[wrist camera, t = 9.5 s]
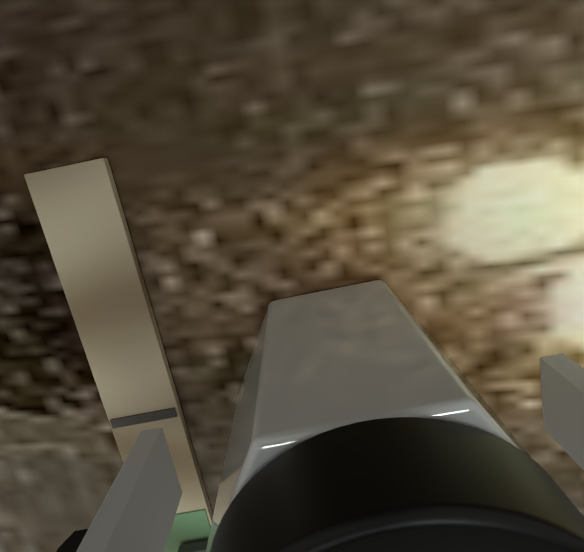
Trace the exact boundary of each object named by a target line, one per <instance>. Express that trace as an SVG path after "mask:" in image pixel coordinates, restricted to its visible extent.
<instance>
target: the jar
mask: <svg viewBox="0 0 584 552" xmlns="http://www.w3.org/2000/svg"><path fill="white" fill-rule="evenodd" d="M206 552H584V516H583V515H582V514H581V513H580V512H579V510H578V509H577V508H576V507H575V505H574V504H573V503H572V502H571V501H570V499H569V498H568V497H567V496H566V495H565V493H564V492H563V491H562V490H561V489H560V487H559V486H558V485H557V484H556V482H555V481H554V480H553V479H552V478H551V476H550V475H549V474H548V473H547V472H546V471H545V470H544V469H543V468H542V467H541V466H540V465H539V464H538V463H537V462H535V461H534V460H533V459H532V458H531V457H530V455H529V454H528V453H527V452H526V450H525V449H524V448H523V447H522V446H521V444H520V443H519V442H518V441H517V439H516V438H515V437H514V436H513V435H512V433H511V432H510V431H509V430H508V428H507V427H506V426H505V425H504V423H503V422H502V421H501V420H500V419H499V417H498V416H497V415H496V414H495V412H494V411H493V410H492V409H491V407H490V406H489V405H488V404H487V403H486V401H485V400H484V399H483V398H482V396H481V395H480V394H479V393H478V392H477V390H476V389H475V388H474V387H473V385H472V384H471V383H470V382H469V380H468V379H467V378H466V377H465V376H464V374H463V373H462V372H461V371H460V369H459V368H458V367H457V366H456V365H455V363H454V362H453V361H452V360H451V358H450V357H449V356H448V355H447V354H446V352H445V351H444V350H443V349H442V348H441V347H440V345H439V344H438V343H437V342H436V341H435V340H434V339H433V337H432V336H431V335H430V334H429V333H428V332H427V330H426V329H425V328H424V327H423V326H422V325H421V323H420V322H419V321H418V320H417V319H416V318H415V317H414V315H413V314H412V313H411V312H410V311H409V310H408V308H407V307H406V306H405V305H404V304H403V303H402V302H401V300H400V299H399V298H398V297H397V296H396V295H395V293H394V292H393V291H392V290H391V289H390V288H389V286H388V285H387V284H386V283H385V282H384V281H382V280H375V281H370V282H365V283H360V284H355V285H350V286H345V287H339V288H334V289H329V290H324V291H319V292H314V293H309V294H304V295H299V296H294V297H289V298H284V299H279V300H274V301H272V302H270V304H269V305H268V308H267V311H266V314H265V317H264V320H263V323H262V326H261V329H260V332H259V335H258V338H257V341H256V343H255V346H254V349H253V352H252V355H251V358H250V361H249V364H248V367H247V370H246V373H245V376H244V379H243V382H242V385H241V388H240V391H239V394H238V398H237V403H236V408H235V412H234V417H233V422H232V427H231V432H230V437H229V441H228V446H227V451H226V456H225V461H224V466H223V470H222V475H221V480H220V485H219V490H218V495H217V499H216V504H215V509H214V514H213V519H212V524H211V528H210V533H209V538H208V543H207V548H206Z"/></svg>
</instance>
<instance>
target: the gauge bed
mask: <svg viewBox="0 0 584 552" xmlns="http://www.w3.org/2000/svg"><path fill="white" fill-rule="evenodd" d="M24 177H25V180H26V182H27V185H28V188H29V191H30V194H31V197H32V200H33V203H34V206H35V209H36V211H37V214H38V217H39V220H40V223H41V226H42V229H43V232H44V235H45V237H46V240H47V243H48V246H49V249H50V252H51V255H52V258H53V261H54V264H55V266H56V269H57V272H58V275H59V278H60V281H61V284H62V287H63V290H64V293H65V295H66V298H67V301H68V304H69V307H70V310H71V313H72V316H73V319H74V321H75V324H76V327H77V330H78V333H79V336H80V339H81V342H82V345H83V348H84V350H85V353H86V356H87V359H88V362H89V365H90V368H91V371H92V374H93V377H94V379H95V382H96V385H97V388H98V391H99V394H100V397H101V400H102V403H103V406H104V408H105V411H106V414H107V417H108V420H109V423H110V426H111V429H112V432H113V434H114V437H115V440H116V443H117V446H118V449H119V452H120V455H121V458H122V461H123V463H124V461H125V460H126V458H127V456H128V454H129V452H130V450H131V448H132V446H133V445H134V443H135V441H136V439H137V437H138V435H139V433H140V432H141V431H143V430H149V429H154V428H160V427H162V428H163V431H164V435H165V438H166V441H167V444H168V448H169V451H170V454H171V457H172V460H173V464H174V467H175V470H176V473H177V476H178V480H179V483H180V486H181V489H182V492H183V493H182V496H181V499H180V502H179V505H178V509H177V512H176V515H175V518H174V521H173V525H172V528H171V531H170V534H169V537H168V541H167V544H166V547H165V550H164V552H178V549H179V545H182V544H188V543H194V542H200V541H206V540H208V538H209V533H210V528H211V524H212V519H213V513H212V510H211V507H210V503H209V500H208V497H207V493H206V490H205V486H204V483H203V480H202V476H201V473H200V469H199V466H198V463H197V459H196V456H195V453H194V449H193V446H192V442H191V439H190V436H189V432H188V429H187V425H186V422H185V419H184V415H183V412H182V409H181V405H180V402H179V398H178V395H177V392H176V388H175V385H174V381H173V378H172V375H171V371H170V368H169V365H168V361H167V358H166V354H165V351H164V348H163V344H162V341H161V337H160V334H159V331H158V327H157V324H156V321H155V317H154V314H153V310H152V307H151V304H150V300H149V297H148V293H147V290H146V287H145V283H144V280H143V277H142V273H141V270H140V266H139V263H138V260H137V256H136V253H135V249H134V246H133V243H132V239H131V236H130V233H129V229H128V226H127V222H126V219H125V216H124V212H123V209H122V205H121V202H120V199H119V195H118V192H117V189H116V185H115V182H114V178H113V175H112V172H111V168H110V165H109V161H108V158H101V159H96V160H91V161H86V162H82V163H77V164H72V165H67V166H63V167H58V168H53V169H48V170H43V171H39V172H34V173H29V174H24Z"/></svg>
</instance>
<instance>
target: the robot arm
mask: <svg viewBox="0 0 584 552" xmlns="http://www.w3.org/2000/svg"><path fill="white" fill-rule="evenodd" d="M540 373H541V389H542V406H543V422H544V429H545V430H546V431H547V432H548V433H549V434H550V435H551V436H552V437H553V439H554V440H555V441H556V442H557V443H558V444H559V445H560V446H561V447H562V448H563V449H564V450H565V451H566V452H567V453H568V454H569V455H570V456H571V458H572V459H573V460H574V461H575V462H576V463H577V464H578V465H579V466H580V467H581V468H582V469H583V470H584V368H582V367H581V366H579V365H578V364H577V363H575V362H574V361H572V360H571V359H569V358H568V357H567V356H565V355H564V354H557V355H551V356H546V357H541V358H540ZM182 493H183V492H182V489H181V486H180V483H179V480H178V476H177V473H176V470H175V467H174V464H173V460H172V457H171V454H170V451H169V448H168V444H167V441H166V438H165V435H164V431H163V428H162V427H160V428H154V429H149V430H143V431H141V432H140V433H139V435H138V437H137V439H136V441H135V443H134V445H133V446H132V448H131V450H130V452H129V454H128V456H127V458H126V460H125V461H124V463H123V465H122V467H121V469H120V471H119V473H118V474H117V476H116V478H115V480H114V482H113V484H112V486H111V488H110V489H109V491H108V493H107V495H106V497H105V499H104V501H103V502H102V504H101V506H100V508H99V510H98V512H97V514H96V516H95V517H94V519H93V521H92V523H91V525H90V527H89V529H85V530H79V531H74V533H73V534H72V535H71V536H70V537H69V538H68V539H67V540H66V541H65V542H64V543H63V544H62V545H61V546H60V547H59V548H58V550H57V552H164V550H165V547H166V544H167V541H168V537H169V534H170V531H171V528H172V525H173V521H174V518H175V515H176V512H177V509H178V505H179V502H180V499H181V496H182Z"/></svg>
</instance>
